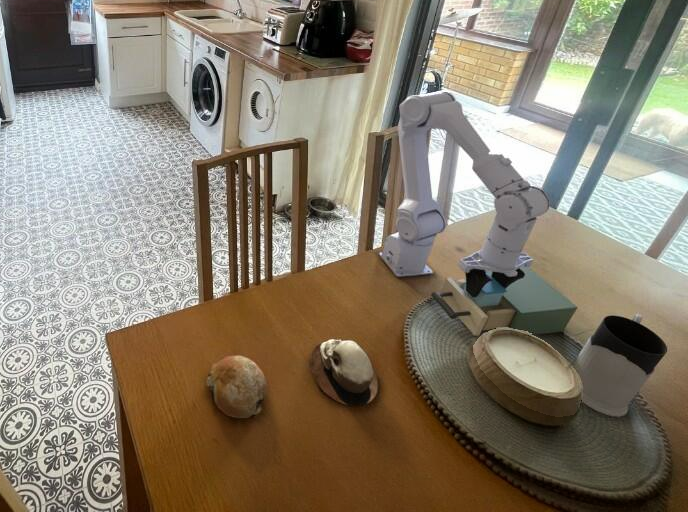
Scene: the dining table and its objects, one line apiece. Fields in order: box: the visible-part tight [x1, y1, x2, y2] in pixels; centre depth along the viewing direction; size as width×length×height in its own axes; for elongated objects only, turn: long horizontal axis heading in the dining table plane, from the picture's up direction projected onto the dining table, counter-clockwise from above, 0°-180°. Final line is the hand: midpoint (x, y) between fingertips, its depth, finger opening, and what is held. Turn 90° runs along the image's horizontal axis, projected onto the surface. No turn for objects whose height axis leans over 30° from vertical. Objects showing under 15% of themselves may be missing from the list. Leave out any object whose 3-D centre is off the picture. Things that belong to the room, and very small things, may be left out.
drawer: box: [431, 277, 517, 336], centre depth 87 cm, size 16×10×5 cm, turn 97°
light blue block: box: [463, 273, 507, 307], centre depth 85 cm, size 5×5×4 cm
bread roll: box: [206, 354, 268, 419], centre depth 73 cm, size 10×10×8 cm
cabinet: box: [485, 265, 579, 336], centre depth 88 cm, size 13×12×7 cm
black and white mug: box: [571, 313, 668, 417], centre depth 72 cm, size 9×14×15 cm, turn 126°
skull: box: [309, 338, 379, 407], centre depth 76 cm, size 12×10×10 cm
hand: (481, 292), depth 86 cm, fingers closed on light blue block, 5 cm apart
